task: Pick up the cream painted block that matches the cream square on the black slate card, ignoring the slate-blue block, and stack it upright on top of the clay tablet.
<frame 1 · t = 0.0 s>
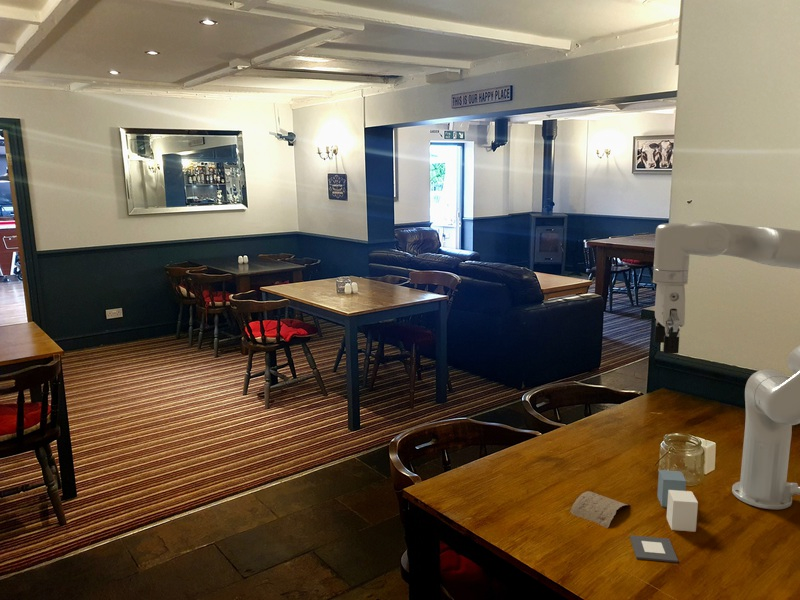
hand: (665, 347, 148), 37 cm above the table, tool pointing down, fingers open, 9 cm apart
clay tablet: (599, 512, 146), on the table
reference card: (653, 549, 130), on the table
slate-blue block: (670, 502, 149), on the table
cream block: (680, 524, 139), on the table
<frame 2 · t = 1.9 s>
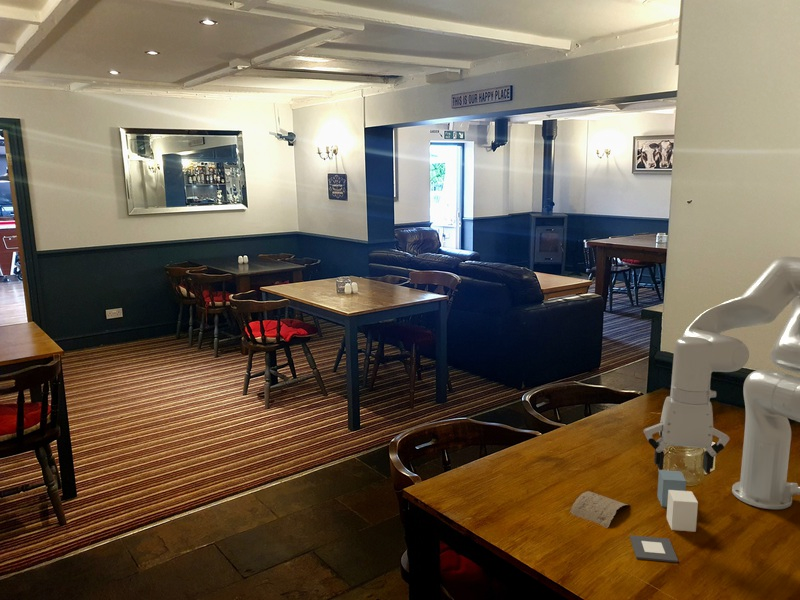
hand: (682, 469, 136), 13 cm above the table, tool pointing down, fingers open, 9 cm apart
nothing on the table moved.
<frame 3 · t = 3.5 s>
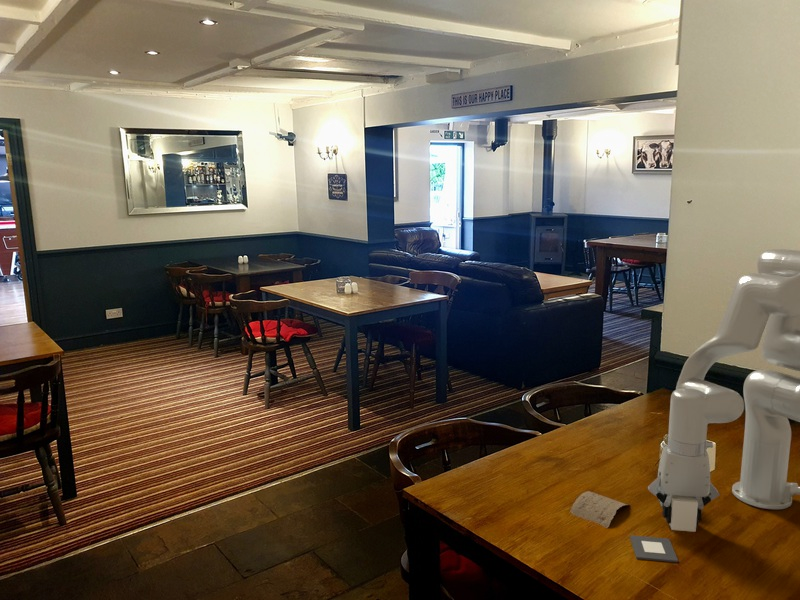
hand: (681, 520, 139), 1 cm above the table, tool pointing down, fingers closed on cream block, 5 cm apart
cream block: (680, 524, 139), on the table, touching gripper
everything else where it was.
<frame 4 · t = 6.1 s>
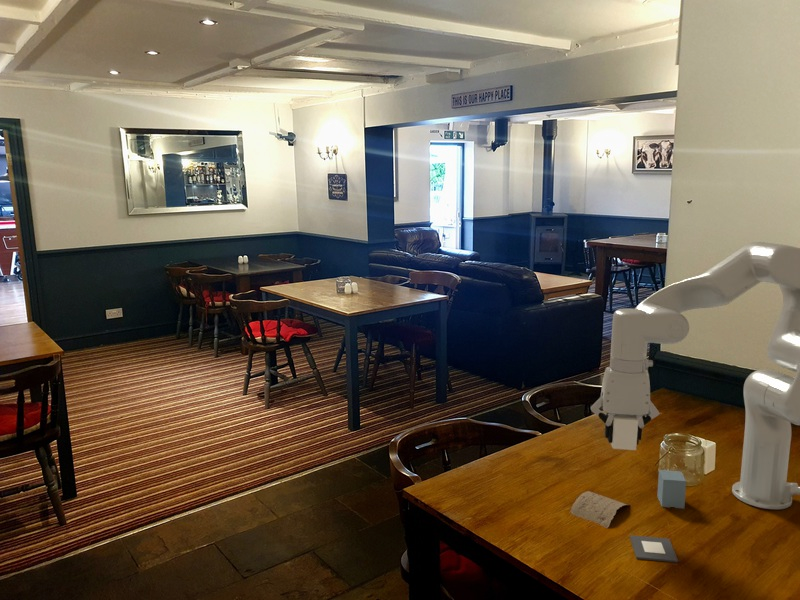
hand: (622, 440, 141), 18 cm above the table, tool pointing down, fingers closed on cream block, 5 cm apart
cream block: (622, 444, 141), point 17 cm above the table, touching gripper
everything else where it was.
when the fingers open (6 cm above the table, at t = 9.0 s): cream block drops 3 cm, resting on clay tablet.
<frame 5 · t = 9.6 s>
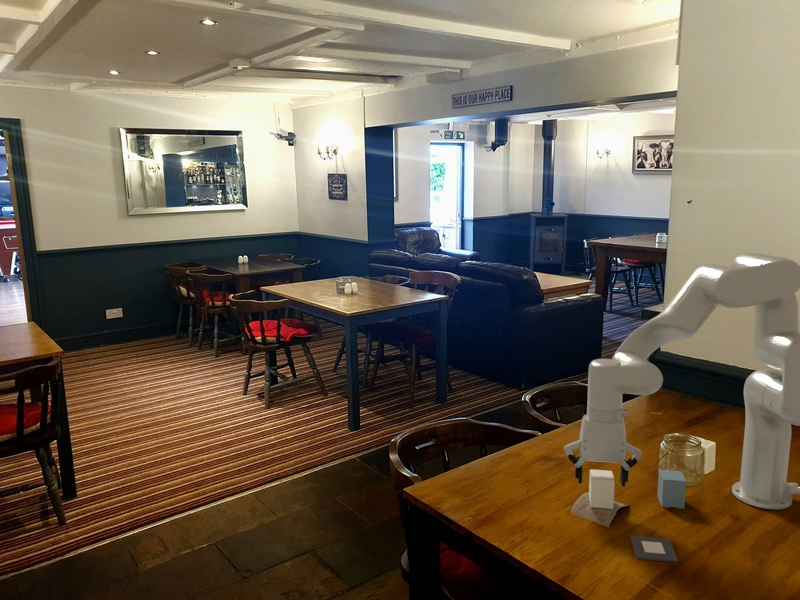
hand: (600, 482, 145), 7 cm above the table, tool pointing down, fingers open, 9 cm apart
clay tablet: (599, 513, 146), on the table, touching cream block
cream block: (600, 502, 146), point 2 cm above the table, touching clay tablet
everything else where it was.
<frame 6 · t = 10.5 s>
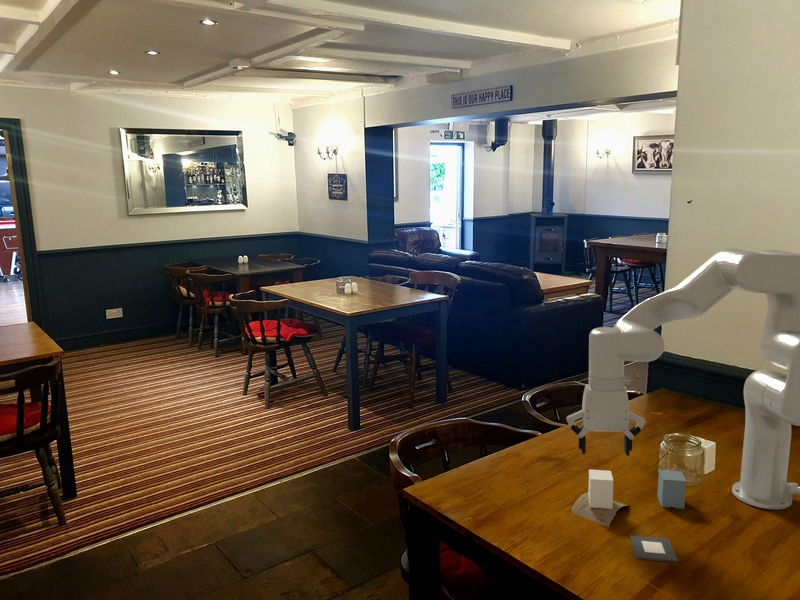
hand: (604, 452, 144), 14 cm above the table, tool pointing down, fingers open, 9 cm apart
clay tablet: (599, 513, 146), on the table
cream block: (600, 502, 146), point 2 cm above the table
everything else where it was.
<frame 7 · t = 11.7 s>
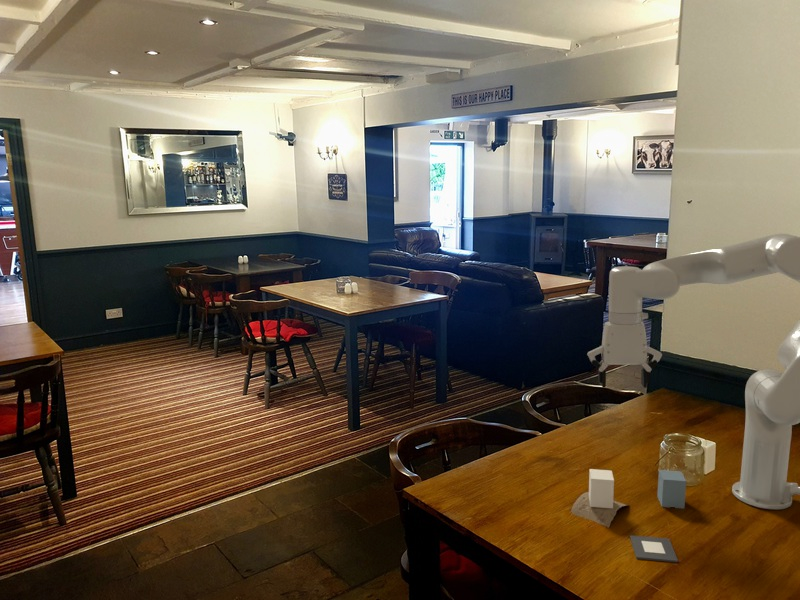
hand: (623, 385, 153), 26 cm above the table, tool pointing down, fingers open, 9 cm apart
clay tablet: (599, 513, 146), on the table, touching cream block
cream block: (600, 502, 146), point 2 cm above the table, touching clay tablet
everything else where it was.
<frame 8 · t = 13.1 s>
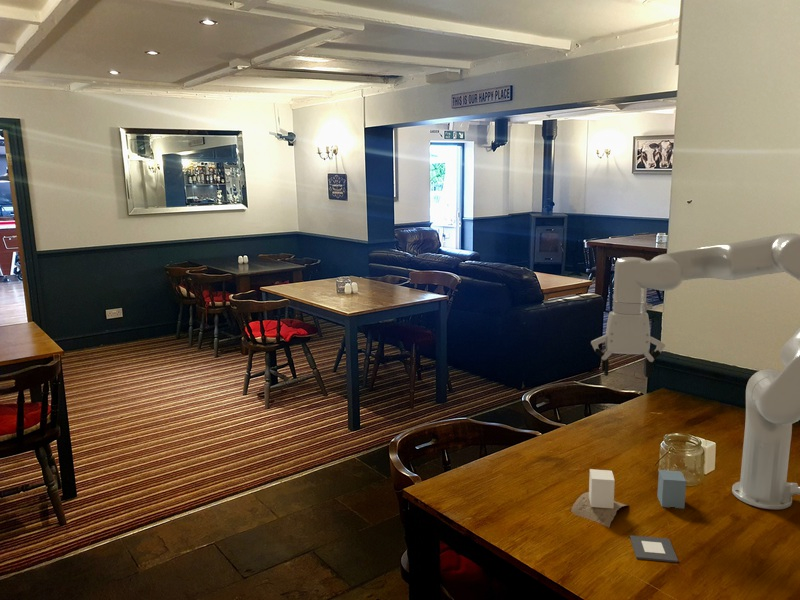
hand: (625, 374, 155), 28 cm above the table, tool pointing down, fingers open, 9 cm apart
nothing on the table moved.
at the end: cream block inside the target area on the clay tablet (0.3 cm from its centre), point 2.9 cm above the clay tablet's base; cream block tilted 0°; slate-blue block moved 0.1 cm from its start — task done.
